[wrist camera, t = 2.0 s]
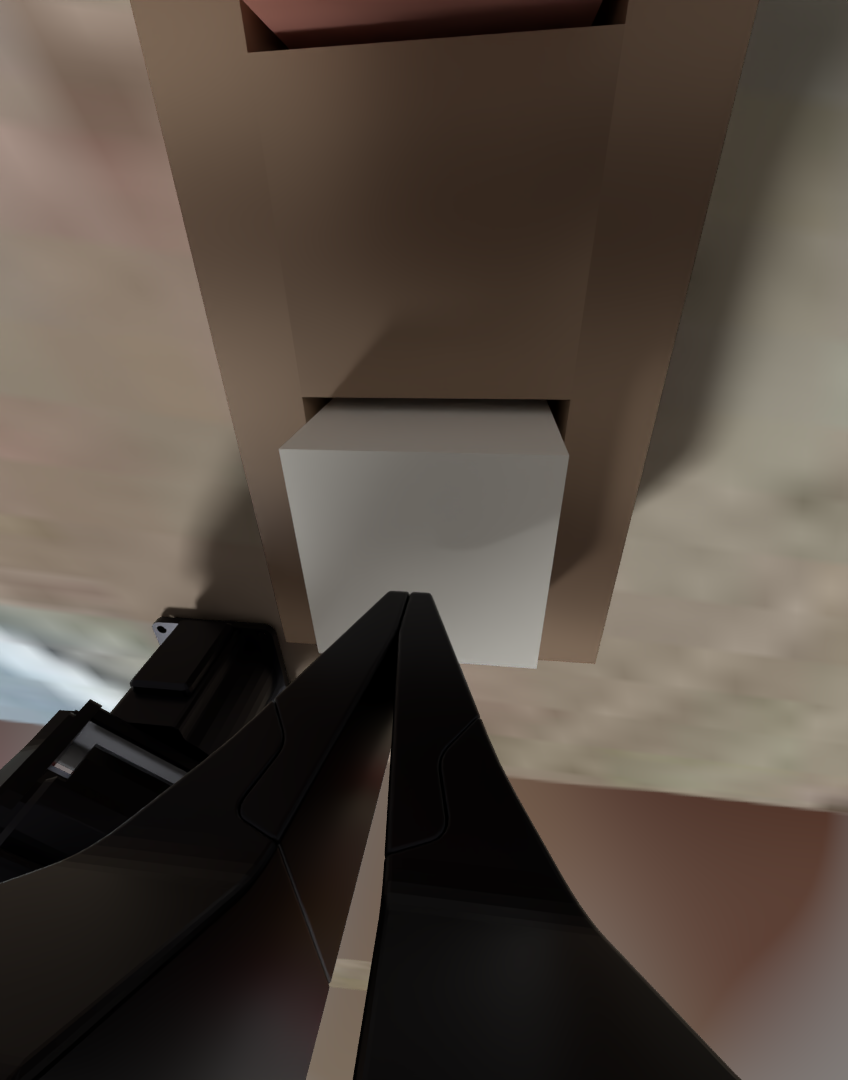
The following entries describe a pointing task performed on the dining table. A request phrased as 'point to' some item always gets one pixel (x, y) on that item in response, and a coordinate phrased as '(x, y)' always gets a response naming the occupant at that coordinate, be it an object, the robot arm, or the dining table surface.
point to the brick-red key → (413, 19)
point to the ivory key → (431, 515)
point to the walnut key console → (450, 238)
